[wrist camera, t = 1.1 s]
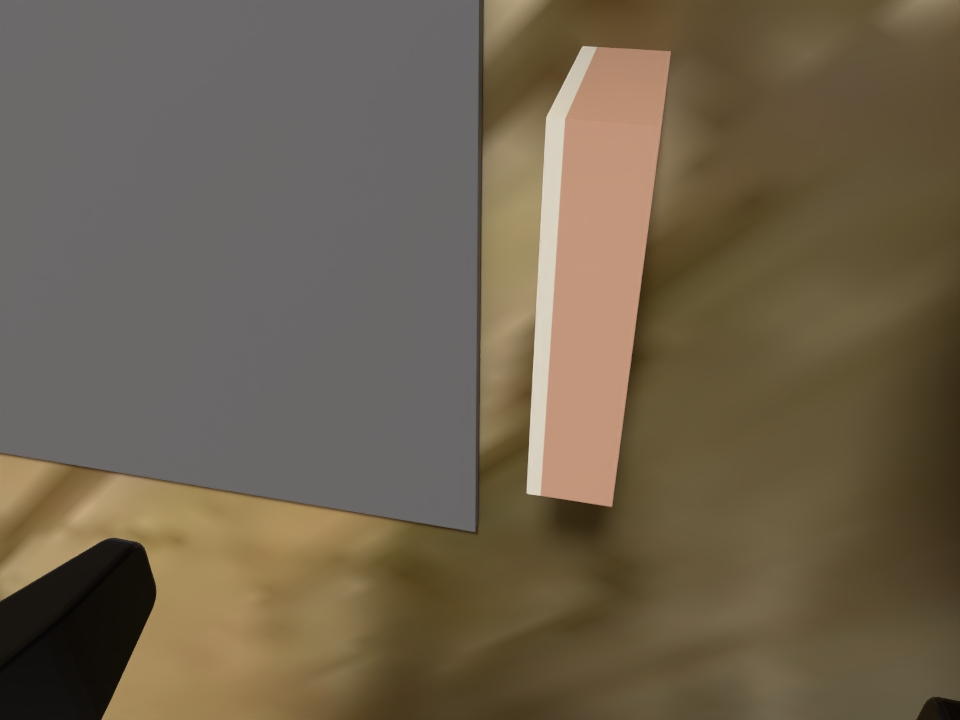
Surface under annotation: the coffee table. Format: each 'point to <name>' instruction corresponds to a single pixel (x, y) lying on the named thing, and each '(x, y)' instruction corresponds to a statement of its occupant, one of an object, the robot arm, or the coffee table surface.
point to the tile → (592, 266)
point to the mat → (246, 246)
